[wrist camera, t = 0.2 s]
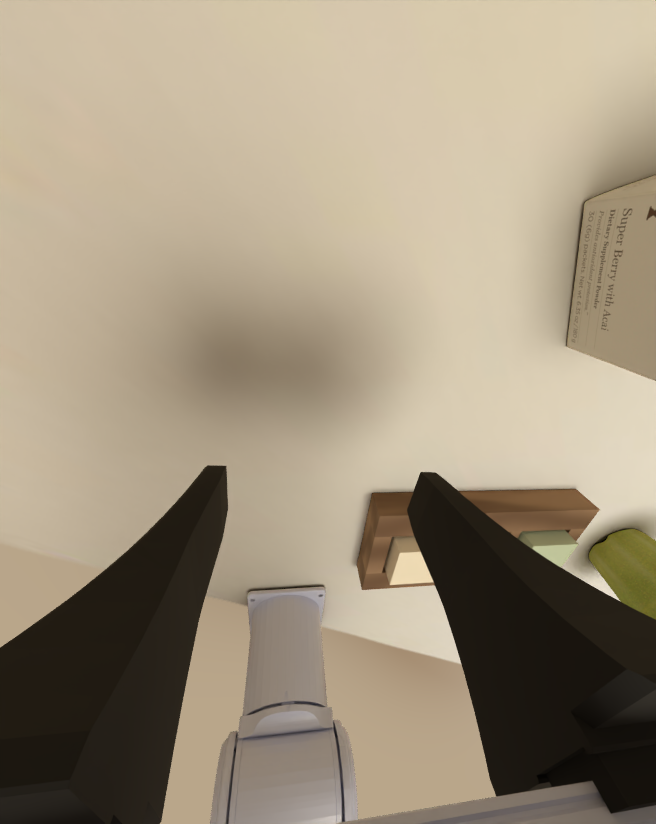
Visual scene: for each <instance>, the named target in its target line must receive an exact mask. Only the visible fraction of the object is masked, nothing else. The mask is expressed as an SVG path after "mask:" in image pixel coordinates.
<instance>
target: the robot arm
mask: <svg viewBox="0 0 656 824" xmlns="http://www.w3.org/2000/svg"><path fill="white" fill-rule="evenodd" d="M227 511H228V498H227V472H226V466H209V465H208V466H207V467H205V468H204V469H203V471H202V472H201V473H200V475H199V476H198V477H197V478H196V480H195V481H194V482H193V483H192V484H191V486H190V487H189V488H188V489H187V490H186V492H185V493H184V494H183V495H182V496H181V497H180V498H179V499H178V501H177V502H176V503H175V504H174V505H173V506H172V507H171V508H170V509H169V510H168V512H167V513H166V514H165V515H164V516H163V517H162V518H161V519H160V520H159V521H158V522H157V523H156V524H155V525H154V526H153V527H152V528H151V529H150V530H149V531H148V532H147V533H146V534H145V535H144V536H143V537H142V538H141V539H140V540H139V541H137V542H136V543H135V544H134V545H133V546H132V547H131V548H130V549H129V550H128V551H127V552H125V553H124V554H123V555H122V556H121V557H120V558H119V559H117V560H116V561H115V562H114V563H113V564H112V565H110V566H109V567H108V568H107V569H106V570H104V571H103V572H102V573H101V574H100V575H98V576H97V577H96V578H95V579H93V580H92V581H91V582H90V583H89V584H87V585H86V586H85V587H83V588H82V589H81V590H80V591H78V592H77V593H76V594H74V595H73V596H72V597H71V598H69V599H68V600H67V601H65V602H64V603H62V604H61V605H60V606H58V607H57V608H56V609H54V610H53V611H51V612H50V613H49V614H47V615H46V616H44V617H43V618H42V619H40V620H39V621H38V622H36V623H35V624H33V625H32V626H31V627H29V628H28V629H26V630H25V631H24V632H22V633H21V634H19V635H18V636H17V637H15V638H14V639H12V640H11V641H9V642H8V643H6V644H5V645H3V646H2V647H1V648H0V824H160V822H161V820H162V813H163V808H164V801H165V796H166V790H167V784H168V778H169V773H170V767H171V762H172V756H173V750H174V744H175V739H176V734H177V729H178V723H179V718H180V712H181V707H182V702H183V696H184V691H185V686H186V680H187V676H188V671H189V666H190V661H191V656H192V651H193V646H194V641H195V636H196V631H197V627H198V622H199V618H200V613H201V609H202V606H203V602H204V599H205V596H206V592H207V589H208V585H209V582H210V579H211V575H212V572H213V569H214V565H215V562H216V559H217V555H218V552H219V548H220V545H221V541H222V538H223V533H224V528H225V522H226V517H227ZM407 513H408V516H409V520H410V524H411V527H412V531H413V534H414V537H415V539H416V542H417V544H418V547H419V549H420V551H421V554H422V556H423V559H424V561H425V563H426V566H427V568H428V570H429V573H430V575H431V577H432V580H433V582H434V584H435V587H436V589H437V591H438V594H439V596H440V599H441V601H442V604H443V606H444V609H445V612H446V615H447V618H448V621H449V625H450V628H451V631H452V634H453V637H454V640H455V643H456V647H457V650H458V654H459V657H460V660H461V664H462V667H463V670H464V674H465V678H466V681H467V685H468V689H469V693H470V696H471V700H472V704H473V708H474V711H475V716H476V719H477V724H478V728H479V732H480V737H481V741H482V745H483V749H484V753H485V758H486V763H487V767H488V772H489V776H490V780H491V783H492V786H493V788H494V791H495V794H496V796H497V797H491V798H485V799H479V800H473V801H467V802H462V803H456V804H449V805H443V806H437V807H432V808H425V809H420V810H413V811H407V812H401V813H395V814H389V815H383V816H377V817H371V818H365V819H360V820H358V813H357V812H358V810H357V790H356V778H355V769H354V762H353V755H352V750H351V744H350V740H349V736H348V733H347V731H346V729H345V728H344V727H343V726H342V724H341V722H340V721H339V720H333V715H332V708H331V707H327V697H326V684H325V673H324V660H323V647H322V636H321V622H322V614H323V607H324V600H325V593H326V591H325V588H324V587H309V588H293V589H277V590H261V591H250V592H249V593H248V595H247V600H248V612H249V624H250V636H251V637H250V647H249V657H248V667H247V677H246V687H245V697H244V707H243V716H241V717H240V722H239V732H237V731H233V732H231V733H230V734H229V736H228V738H227V739H226V740H225V742H224V743H223V744H222V747H221V752H220V756H219V762H218V768H217V774H216V781H215V787H214V795H213V802H212V812H211V820H210V824H656V619H654V618H652V617H649V616H647V615H645V614H643V613H641V612H639V611H637V610H635V609H633V608H631V607H630V606H628V605H626V604H624V603H622V602H620V601H618V600H616V599H615V598H613V597H611V596H609V595H607V594H605V593H603V592H602V591H600V590H598V589H596V588H594V587H593V586H591V585H589V584H587V583H586V582H584V581H582V580H581V579H579V578H577V577H576V576H574V575H572V574H571V573H569V572H567V571H566V570H564V569H562V568H561V567H559V566H558V565H556V564H554V563H553V562H551V561H550V560H548V559H547V558H545V557H544V556H542V555H541V554H539V553H538V552H536V551H535V550H533V549H532V548H530V547H529V546H527V545H526V544H524V543H523V542H522V541H520V540H519V539H517V538H516V537H515V536H513V535H512V534H511V533H509V532H508V531H507V530H505V529H504V528H503V527H502V526H500V525H499V524H498V523H496V522H495V521H494V520H493V519H491V518H490V517H489V516H488V515H486V514H485V513H484V512H483V511H481V510H480V509H479V508H478V507H477V506H475V505H474V504H473V503H472V502H471V501H469V500H468V499H467V498H466V497H465V496H463V495H462V494H461V493H460V492H459V491H458V490H456V489H455V488H454V487H453V486H452V485H450V484H449V483H448V482H447V481H446V480H444V479H443V478H442V477H441V476H439V475H438V474H437V473H432V472H421V473H420V475H419V478H418V481H417V484H416V486H415V489H414V492H413V495H412V497H411V500H410V503H409V506H408V508H407Z"/></svg>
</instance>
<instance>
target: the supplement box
mask: <svg viewBox="0 0 656 824" xmlns="http://www.w3.org/2000/svg"><path fill="white" fill-rule="evenodd" d="M567 347H569V348H571V349H574V350H577V351H579V352H582V353H584V354H587V355H590V356H592V357H595V358H597V359H600V360H602V361H605V362H608V363H610V364H613V365H616V366H618V367H621V368H623V369H626V370H629V371H631V372H634V373H636V374H639V375H641V376H644V377H647V378H649V379H652V380H655V381H656V175H654V176H651V177H648V178H646V179H643V180H640V181H637V182H634V183H631V184H628V185H626V186H623V187H620V188H617V189H614V190H611V191H609V192H606V193H604V194H601V195H599V196H596V197H594V198H591V199H589V200H587V201H586V202H585V204H584V212H583V220H582V228H581V235H580V243H579V251H578V259H577V267H576V275H575V283H574V291H573V299H572V307H571V315H570V324H569V331H568V340H567Z"/></svg>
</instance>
